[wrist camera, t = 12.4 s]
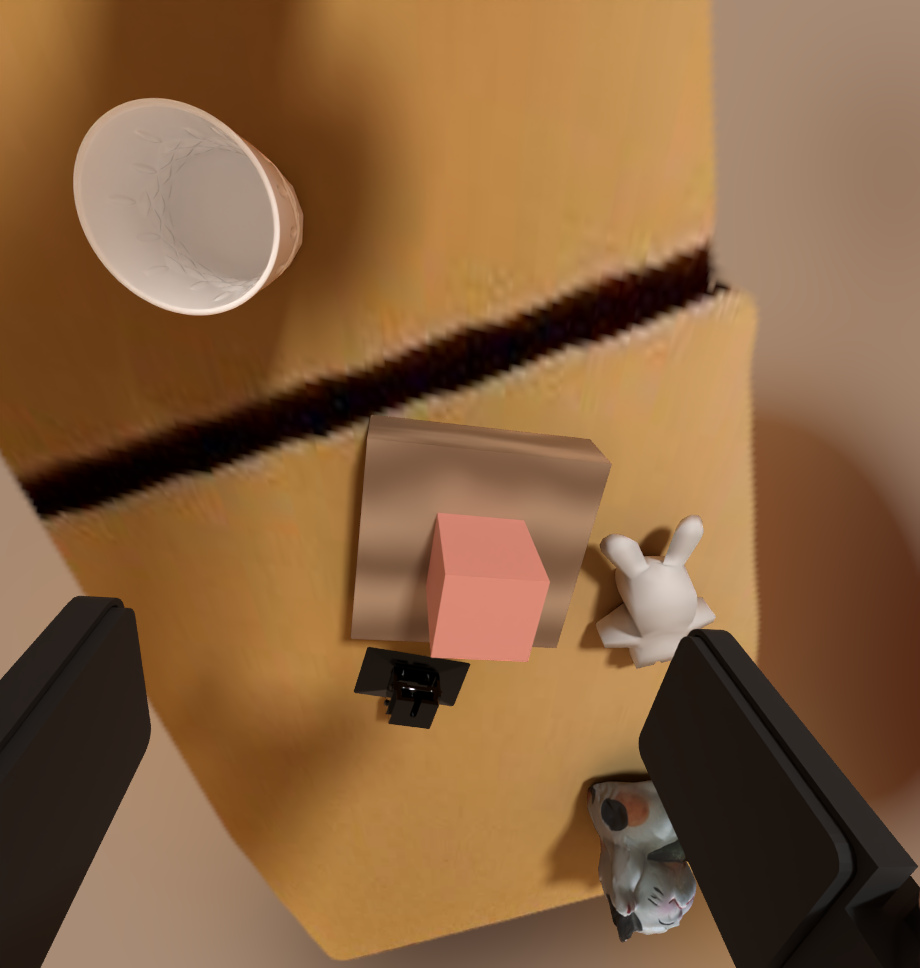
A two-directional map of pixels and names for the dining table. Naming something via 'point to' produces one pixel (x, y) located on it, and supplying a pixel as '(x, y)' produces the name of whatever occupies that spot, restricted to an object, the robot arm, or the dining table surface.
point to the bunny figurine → (653, 596)
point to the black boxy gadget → (410, 684)
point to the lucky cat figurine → (639, 858)
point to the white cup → (183, 207)
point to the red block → (483, 589)
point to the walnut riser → (467, 513)
